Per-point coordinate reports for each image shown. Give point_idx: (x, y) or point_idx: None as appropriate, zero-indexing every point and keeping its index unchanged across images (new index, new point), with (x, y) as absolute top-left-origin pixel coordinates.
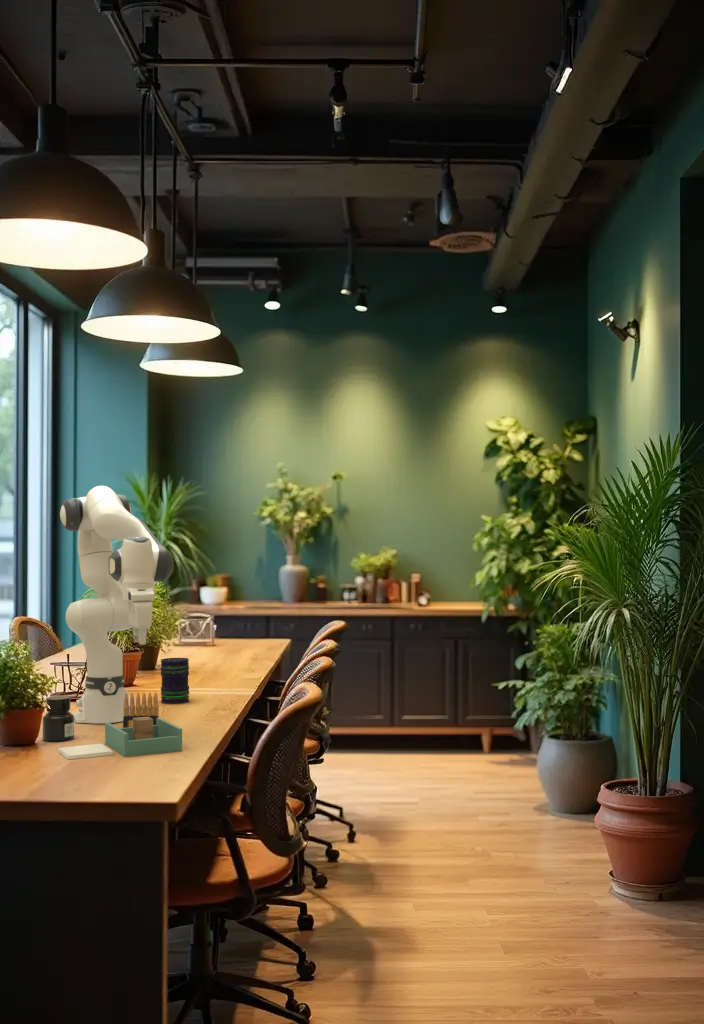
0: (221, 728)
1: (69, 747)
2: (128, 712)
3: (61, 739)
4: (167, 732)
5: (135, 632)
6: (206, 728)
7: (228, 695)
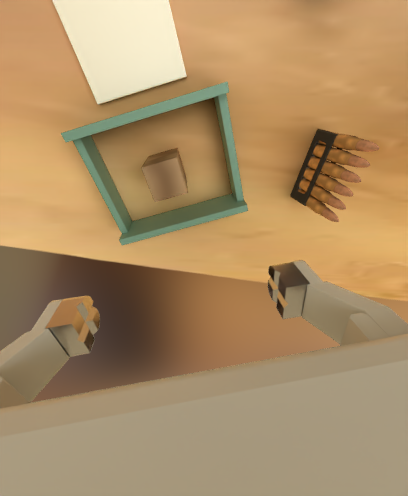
0: None
1: None
2: (339, 147)
3: None
4: (180, 216)
5: (334, 309)
6: None
7: None
